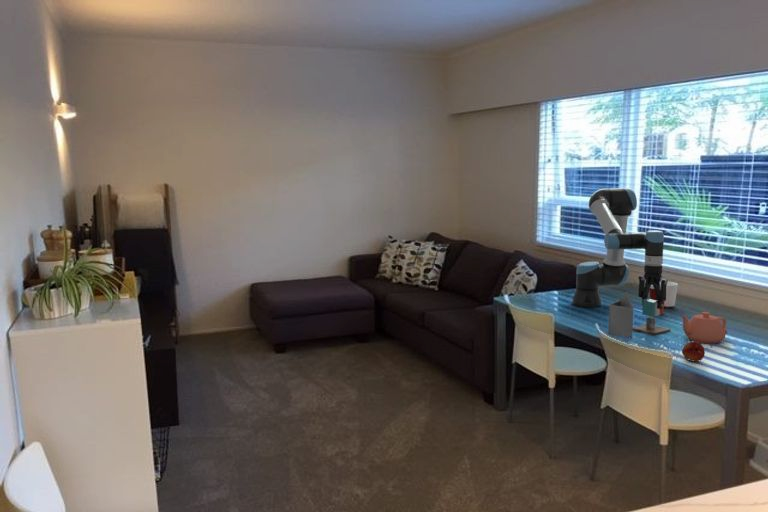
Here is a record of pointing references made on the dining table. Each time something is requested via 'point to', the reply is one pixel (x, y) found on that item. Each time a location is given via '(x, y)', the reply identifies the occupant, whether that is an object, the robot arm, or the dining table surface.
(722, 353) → the dining table surface
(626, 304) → the planter
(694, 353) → the fruit
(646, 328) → the post block
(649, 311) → the cap
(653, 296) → the coffee cup
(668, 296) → the cup
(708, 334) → the teapot
